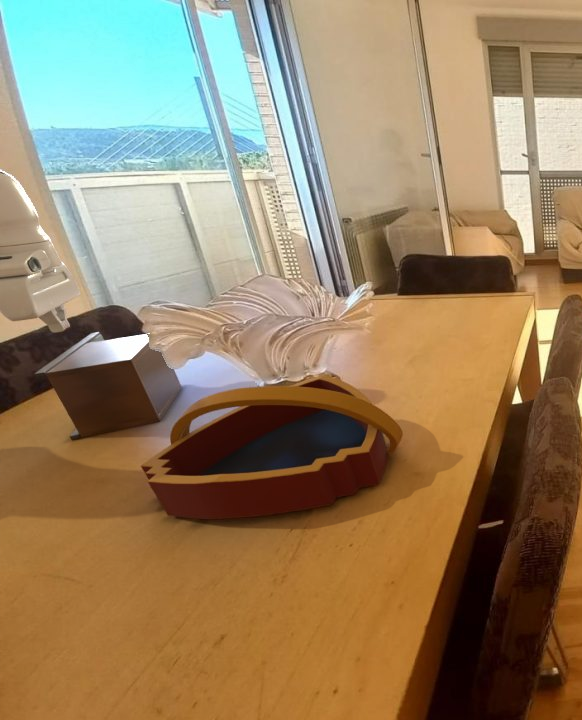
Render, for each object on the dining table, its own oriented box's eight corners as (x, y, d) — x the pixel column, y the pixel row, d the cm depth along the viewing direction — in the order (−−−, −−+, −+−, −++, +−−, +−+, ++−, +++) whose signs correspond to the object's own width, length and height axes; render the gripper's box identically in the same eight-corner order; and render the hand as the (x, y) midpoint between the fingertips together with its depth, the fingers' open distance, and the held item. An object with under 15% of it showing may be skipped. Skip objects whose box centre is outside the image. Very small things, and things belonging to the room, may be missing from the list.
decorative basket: (114, 539, 65) (43, 458, 57) (254, 409, 90) (217, 340, 82) (359, 538, 65) (321, 456, 57) (432, 407, 89) (412, 338, 81)
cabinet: (71, 440, 85) (33, 373, 80) (119, 388, 105) (91, 332, 100) (160, 421, 91) (130, 358, 86) (189, 375, 111) (167, 322, 105)
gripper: (27, 253, 94) (62, 319, 99) (-36, 271, 78) (11, 349, 83) (71, 249, 97) (103, 313, 102) (19, 266, 80) (60, 342, 86)
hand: (61, 330), depth 93 cm, fingers closed
